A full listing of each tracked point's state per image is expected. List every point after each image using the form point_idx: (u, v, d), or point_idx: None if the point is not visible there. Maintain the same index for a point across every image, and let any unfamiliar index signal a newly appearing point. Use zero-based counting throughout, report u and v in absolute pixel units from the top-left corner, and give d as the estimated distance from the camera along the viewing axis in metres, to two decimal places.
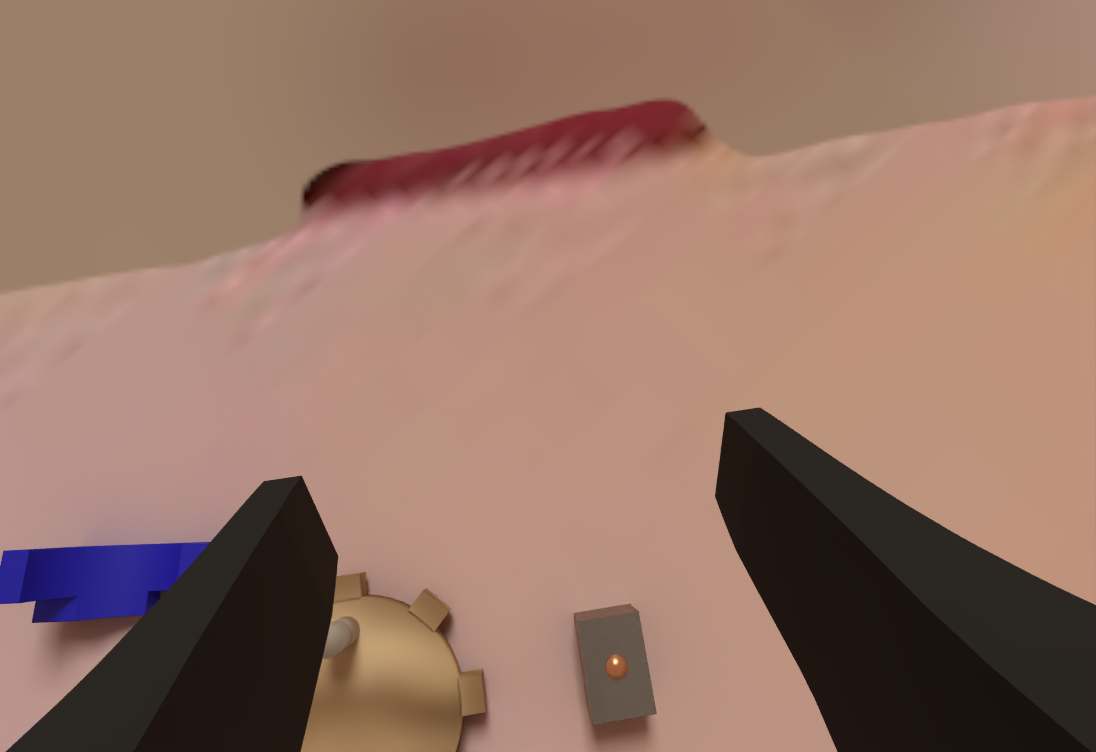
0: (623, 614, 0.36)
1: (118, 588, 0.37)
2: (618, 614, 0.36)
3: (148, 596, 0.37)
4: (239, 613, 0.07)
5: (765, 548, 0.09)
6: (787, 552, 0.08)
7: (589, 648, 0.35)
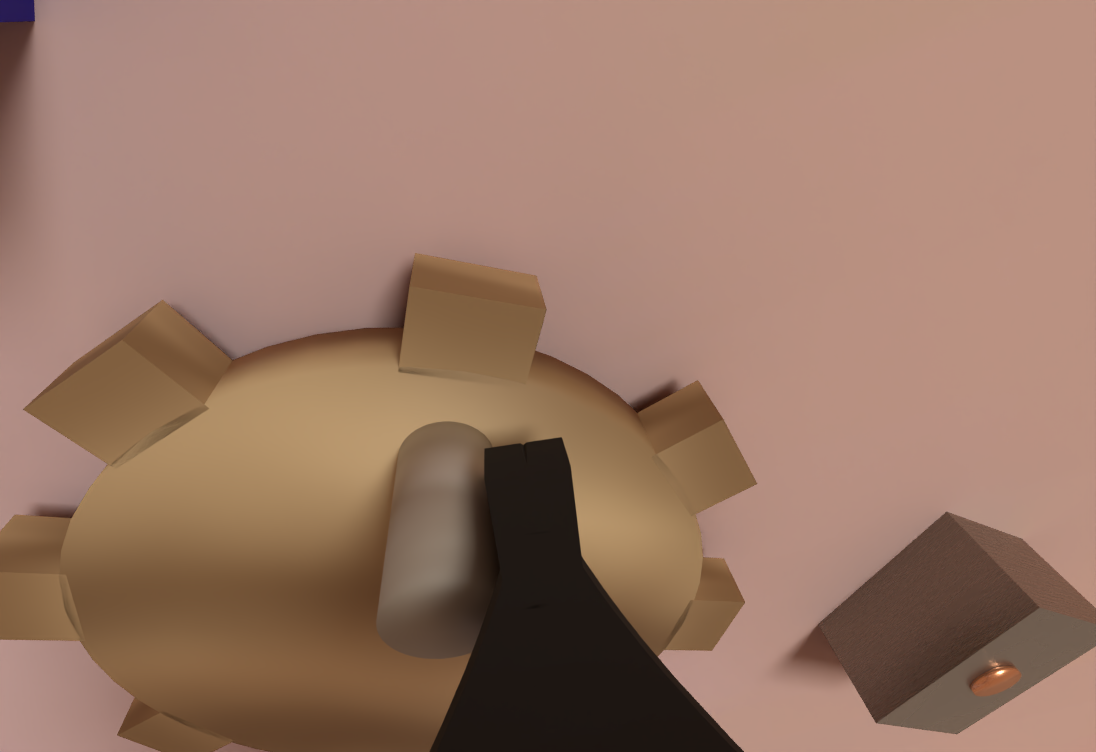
0: None
1: None
2: (1090, 619, 0.16)
3: None
4: None
5: None
6: None
7: (998, 647, 0.15)
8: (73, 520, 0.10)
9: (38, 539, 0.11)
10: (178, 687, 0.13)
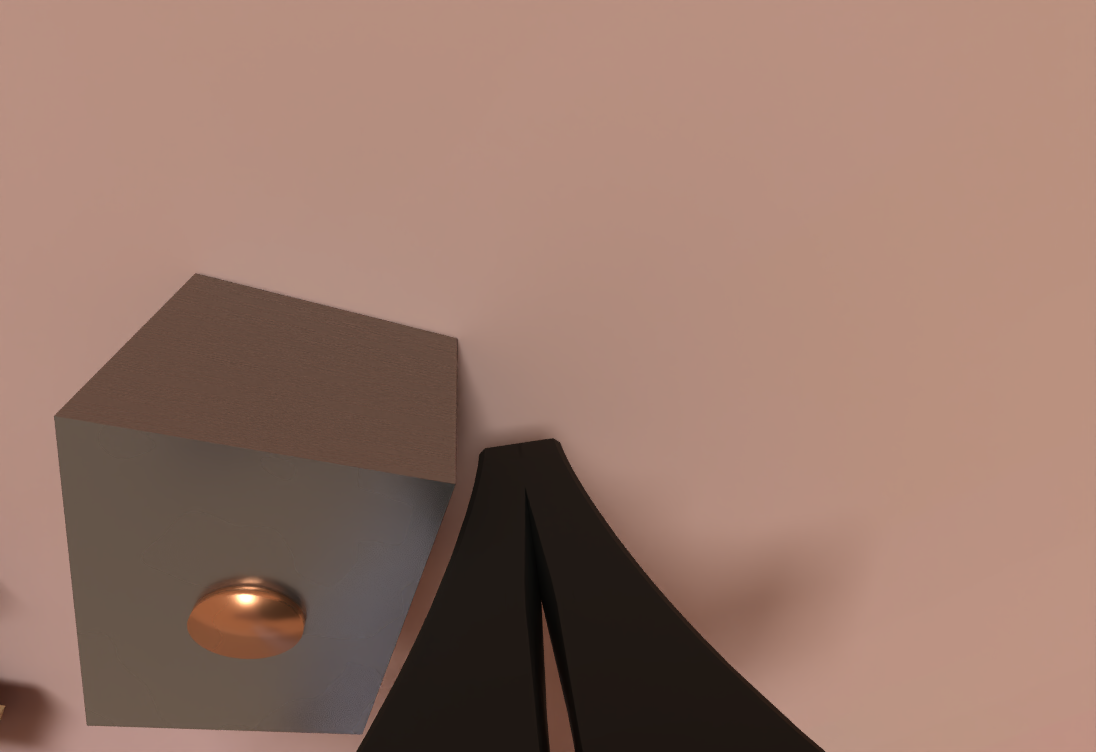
0: (368, 471, 0.06)
1: None
2: (342, 457, 0.06)
3: None
4: (527, 566, 0.07)
5: (541, 585, 0.08)
6: (545, 592, 0.08)
7: (117, 539, 0.06)
8: None
9: None
10: None
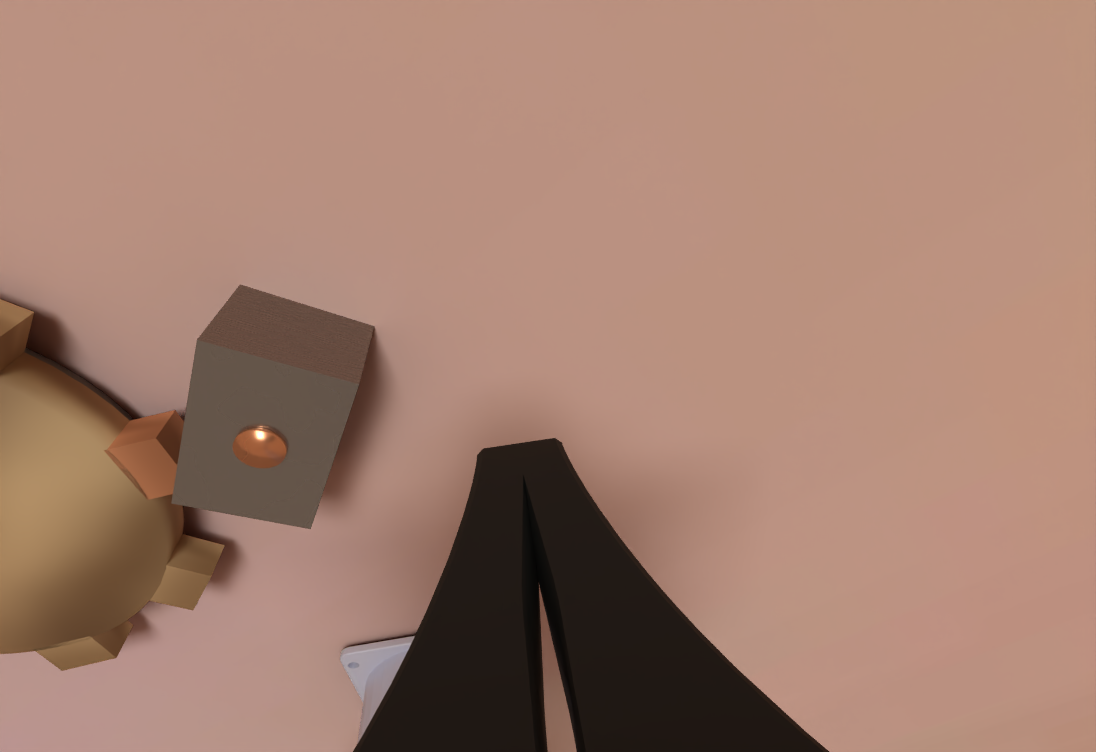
0: (321, 375, 0.15)
1: None
2: (310, 368, 0.15)
3: None
4: (525, 566, 0.07)
5: (543, 585, 0.08)
6: (547, 592, 0.08)
7: (209, 397, 0.15)
8: None
9: None
10: (0, 637, 0.21)
